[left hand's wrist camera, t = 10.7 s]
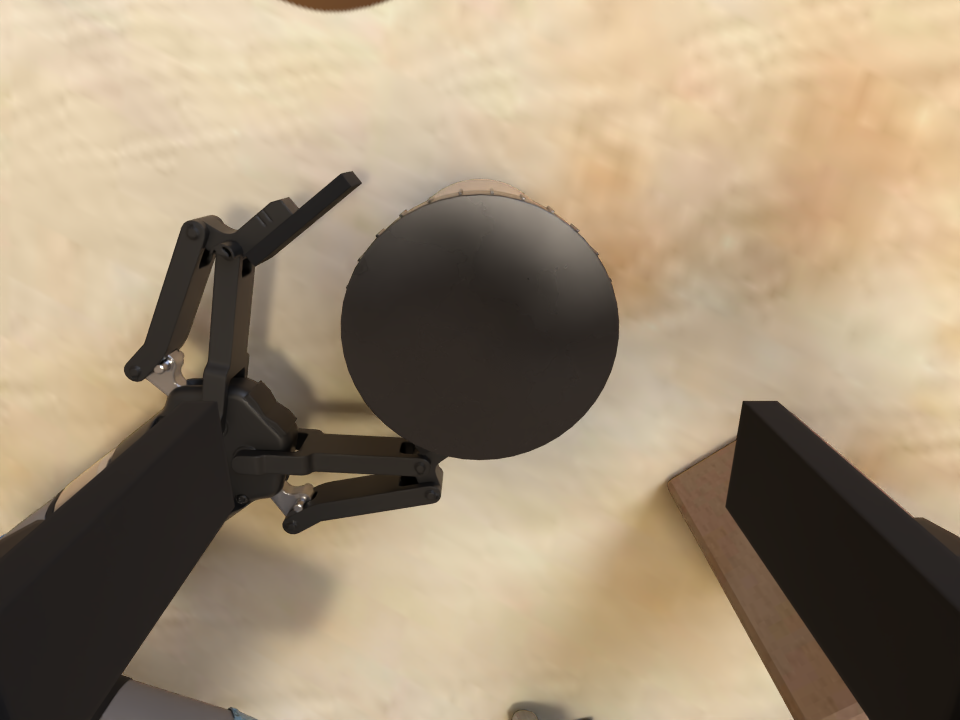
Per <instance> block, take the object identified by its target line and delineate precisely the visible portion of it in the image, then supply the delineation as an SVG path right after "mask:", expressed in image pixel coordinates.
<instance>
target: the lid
mask: <svg viewBox="0 0 960 720" xmlns="http://www.w3.org/2000/svg"><path fill="white" fill-rule="evenodd" d="M554 212H555V211H554V210H552V209H551V208H550V207H549V206H547V208H546V207H544V206H542V205H540V204H538V203H536V202H534V201H532V200H529V199H526V198H525V197H524V196H523V195H522V194H520V196H518V195H515V194H510V193H505V192H500V191H494V190H493V188H490V190H470V191H463V189H460V190H459V192H455V193H450V194H445V195H442V196H439V197H436V198H434V197H433V196H432V197H430V198H429V199H428V200H427V201H426V202H424V203H422V204H420V205H418V206H416V207H414V208H412V209H411V210H409V211H407V210H405V211H404V212H402V213H401V214H400V215H399V216H400V217H399V218H398V219H397V220H396V221H394V222H393V223H392V224H391V225H390V226H389V227H388V228H387V229H386V230H385V229H382V230H381V231H380V232H379V233H378V234H377V235H376V237H377V238H376V239H375V240H374V242H373V243H372V244H371V245H370V247H369V248H368V249H367V250H366V251H365V253H364V254H363V255H362V256H361V257H360V258H359V259H358V261H359V263H358V264H357V266H356V268H355V269H354V272H353V274H352V276H351V279H350V281H349V284H348V285H347V287H346V289H347V290H346V294H345V297H344V301H343V307H342V315H341V340H342V346H343V353H344V357H345V360H346V364H347V367H348V371H349V373H350V375H351V377H352V380H353V382H354V384H355V387H356V388H357V390H358V391H359V393H360V395H361V396H362V398H363V400H364V401H365V402H366V404H367V405H368V406H369V407H370V409H371V410H372V411H373V412H374V414H375V415H376V416H377V417H378V418H379V419H380V420H381V421H382V422H383V423H384V424H385V425H387V426H388V427H389V428H390V429H392V430H393V431H394V432H396V433H397V434H398V435H400V436H401V437H403V438H404V439H406V440H408V441H410V442H411V443H413V444H415V445H417V446H419V447H422V448H424V449H426V450H429V451H431V452H434V453H438V454H441V455H444V456H449V457H454V458H460V459H470V460H490V459H500V458H506V457H512V456H516V455H519V454H522V453H526V452H529V451H531V450H534V449H536V448H538V447H541V446H543V445H545V444H547V443H549V442H550V441H552V440H554V439H556V438H557V437H559V436H560V435H562V434H563V433H564V432H566V431H567V430H568V429H570V428H571V427H572V426H573V425H574V424H575V423H577V422H578V421H579V420H580V419H581V418H582V417H583V416H584V415H585V414H586V412H587V411H588V410H589V409H590V407H591V406H592V405H593V404H594V402H595V401H596V400H597V398H598V396H599V395H600V393H601V391H602V390H603V388H604V386H605V384H606V382H607V380H608V377H609V375H610V373H611V370H612V367H613V364H614V360H615V357H616V352H617V346H618V339H619V316H618V308H617V301H616V298H615V294H614V290H613V286H612V284H611V282H612V281H611V279H610V278H609V277H608V274H607V272H606V269H605V268H604V266H603V264H602V263H601V261H600V259H599V258H598V255H599V254H598V253H597V252H596V251H595V250H594V249H593V248H592V247H591V246H590V245H589V244H588V243H587V242H586V240H585V239H584V238H583V237H582V236H581V235H580V234H579V233H578V232H579V230H578V229H577V228H576V227H575V226H574V225H572V224H571V225H569V224H568V223H567V222H566V221H564V220H563V219H562V218H561V217H559V216H558V215H556V214H555V213H554Z"/></svg>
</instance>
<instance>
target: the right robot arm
mask: <svg viewBox="0 0 960 720" xmlns="http://www.w3.org/2000/svg"><path fill="white" fill-rule="evenodd" d="M360 184H361V181H360V180H359V179H358V178H357V176H356V175H355V174H354V173H353V171H351V172H346V173H341V174H340V175H339V176H338V177H336V178H335V179H334V180H333V181H332V182H330V183H329V184H328V185H327V186H326V187H324V188H323V189H322V190H321V191H320V192H319V193H317V194H316V195H315V196H314V197H313V198H311V199H310V200H309V201H308V202H307V203H305V204H304V205H303V206H302V207H301V208H298V207H297V206H296V205H295V204H294V202H293V201H292V200H291V199H290V198H289V197H288V198H284V199H281V200H277V201H274V202H270V203H269V204H268V205H267V206H266V207H265V208H263V209H262V210H261V211H260V212H259V213H258V214H257V215H255V216H254V217H253V218H252V219H250V220H249V221H248V222H247V223H246V224H245V225H243V226H242V227H241V228H240V229H239V230H235V229H232V228H230V227H228V226H227V225H225V224H224V223H223V221H222V220H221V219H220V218H219V217H217V216H214V215H210V216H205V217H201V218H197V219H193V220H190V221H187V222H185V223H184V224H183V226H182V227H181V231H180V234H179V237H178V240H177V243H176V246H175V249H174V252H173V256H172V259H171V262H170V265H169V268H168V271H167V274H166V277H165V281H164V284H163V287H162V290H161V293H160V296H159V299H158V302H157V306H156V309H155V312H154V315H153V318H152V321H151V324H150V327H149V331H148V334H147V337H146V340H145V343H144V345H143V346H142V347H141V348H140V349H139V350H138V351H137V352H136V354H135V355H134V356H133V357H132V358H131V359H130V360H129V361H128V362H127V363H126V365H125V367H124V372H125V375H126V376H127V377H128V378H129V379H130V380H132V381H136V382H139V381H142V380H144V379H145V378H146V379H147V380H149V381H150V382H151V383H152V384H153V385H155V386H156V387H157V388H158V389H160V390H161V391H162V392H163V393H165V394H166V395H167V396H168V398H167V401H166V405H165V407H164V408H163V409H162V410H161V411H160V412H159V413H157V414H156V415H155V416H154V417H152V418H151V419H150V420H149V421H147V422H146V423H145V424H144V425H142V426H141V427H140V428H139V429H137V430H136V431H135V432H134V433H132V434H131V435H130V436H129V437H127V438H126V439H125V440H123V441H122V442H121V443H120V444H119V445H118V447H117V448H114V449H113V450H112V451H110V452H109V453H108V454H106V455H105V456H104V457H103V458H101V459H100V460H99V461H97V462H96V463H95V464H94V465H92V466H91V467H90V468H89V469H87V470H86V471H85V472H83V473H82V474H81V475H80V476H78V477H77V478H76V479H74V480H73V481H72V482H71V483H69V484H68V485H67V486H66V488H64V489H63V490H62V491H61V492H60V493H58V495H57V496H56V497H54V498H53V499H51V500H50V501H49V502H47V503H46V504H45V505H43V506H42V507H41V508H39V509H38V510H37V511H35V512H34V513H33V514H31V515H30V516H29V517H27V518H26V519H25V520H23V521H22V522H21V523H19V524H18V525H17V526H15V527H14V528H13V529H12V530H10V531H9V532H8V533H7V534H4V535H3V536H1V537H0V540H2V539H3V538H4V537H6V536H8V535H10V534H12V533H14V532H16V531H17V530H19V529H21V528H23V527H25V526H27V525H29V524H30V523H32V522H34V521H36V520H45V519H47V518H48V517H49V516H50V515H51V514H52V513H53V512H55V511H56V510H57V509H58V508H59V507H60V506H62V505H63V504H64V503H65V502H66V501H67V500H69V499H70V498H71V497H72V496H73V495H74V494H76V493H77V492H78V491H79V490H80V489H81V488H82V487H84V486H85V485H86V484H87V483H88V482H89V481H91V480H92V479H93V478H94V477H95V476H96V475H98V474H99V473H100V472H101V471H102V470H103V469H104V468H106V467H107V466H108V465H109V464H110V463H111V462H113V461H114V460H115V459H116V458H117V457H118V456H120V455H121V454H122V453H123V452H124V451H125V450H127V449H128V448H129V447H130V446H131V445H132V444H133V443H135V442H136V441H137V440H138V439H139V438H140V437H142V436H143V435H144V434H145V433H146V432H147V431H149V430H150V429H151V428H152V427H153V426H154V425H156V424H157V423H158V422H159V421H160V420H161V419H162V418H164V417H165V416H166V415H167V414H168V413H169V412H171V411H172V410H173V409H174V408H175V407H176V406H178V405H179V404H180V403H181V402H182V401H217V404H218V410H219V415H220V421H221V427H222V433H223V439H224V445H225V451H226V457H227V463H228V469H229V475H230V481H231V487H232V493H233V499H234V505H235V507H234V509H233V510H232V512H231V513H230V515H229V516H228V518H227V519H226V520H228V519H229V518H231V517H232V516H233V515H235V514H236V513H238V512H239V511H240V510H242V509H243V508H245V507H246V506H247V505H249V504H250V503H251V502H253V501H255V500H258V499H263V498H271V499H272V500H273V501H274V503H275V504H276V505H277V506H278V507H279V509H280V510H281V511H282V512H283V514H284V515H285V516H286V517H285V519H284V521H283V529H284V530H285V531H286V532H287V533H290V534H297V533H300V532H301V531H303V530H305V529H307V528H309V527H311V526H313V525H315V524H317V523H319V522H320V521H326V520H332V519H338V518H345V517H351V516H357V515H364V514H370V513H376V512H383V511H389V510H395V509H401V508H408V507H414V506H420V505H427V504H433V503H436V502H437V501H439V499H440V497H441V490H442V481H443V471H442V469H441V468H440V467H439V465H438V463H440V462H441V461H442V460H444V459H445V458H447V457H448V456H444V455H441V454H438V453H434V452H431V451H429V450H426V449H424V448H422V447H419V446H417V445H415V444H413V443H411V442H410V441H408V440H406V439H404V438H396V437H377V436H357V435H338V434H324V433H323V432H322V431H320V430H315V429H298V428H297V425H296V423H295V421H296V420H297V418H296V417H295V416H294V415H293V414H292V413H291V411H290V410H289V409H287V408H286V407H284V406H283V405H281V404H280V403H278V402H277V401H276V399H275V398H274V396H273V394H272V392H271V391H270V389H269V388H268V387H267V386H266V385H265V384H264V383H263V382H262V381H260V382H258V383H257V382H256V381H254V380H252V379H249V378H247V375H248V365H249V354H248V353H247V345H248V335H249V324H250V314H251V304H252V293H253V283H254V272H255V266H257V265H259V264H261V263H263V262H264V261H266V260H268V259H270V258H272V257H273V256H274V255H276V254H277V253H278V252H279V251H280V250H282V249H283V248H284V247H285V246H286V245H288V244H289V243H290V242H291V241H293V240H294V239H295V238H296V237H297V236H299V235H300V234H301V233H302V232H303V231H305V230H306V229H307V228H308V227H309V226H311V225H312V224H313V223H314V222H316V221H317V220H318V219H319V218H320V217H322V216H323V215H324V214H325V213H326V212H328V211H329V210H330V209H331V208H332V207H334V206H335V205H336V204H337V203H338V202H340V201H341V200H342V199H343V198H345V197H346V196H347V195H348V194H349V193H351V192H352V191H353V190H354V189H355V188H357V187H358V186H359V185H360ZM215 257H216V259H215ZM214 260H215V273H214V286H213V300H212V314H211V328H210V341H209V355H208V363H207V365H206V367H205V370H204V374H203V378H192V379H188V380H186V379H185V378H184V377H183V375H182V373H181V368H182V366H183V363H184V359H183V358H184V353H183V352H182V351H180V350H179V349H180V348H181V347H182V346H183V344H184V343H185V341H186V339H187V337H188V335H189V332H190V329H191V326H192V324H193V321H194V318H195V315H196V312H197V309H198V306H199V303H200V300H201V298H202V295H203V292H204V289H205V286H206V283H207V280H208V277H209V274H210V271H211V269H212V266H213V263H214ZM295 450H299V451H297V452H295ZM312 472H336V473H356V474H375V475H369V476H363V477H357V478H351V479H344V480H338V481H332V482H328V483H324V484H321V485H318V486H316V487H314V488H313V485H312V484H310V483H307V484H305V485H302V486H292V485H290V484H289V483H288V482H287V480H288V478H289V475H308V474H310V473H312ZM226 520H225V521H226ZM91 720H257V719H255V718H253V717H251V716H248V715H246V714H244V713H241V712H240V711H239V710H237V709H236V708H233V707H230V708H228V709H224V708H221V707H218V706H215V705H211V704H208V703H205V702H202V701H198V700H195V699H192V698H189V697H186V696H182V695H179V694H176V693H173V692H170V691H166V690H163V689H160V688H157V687H153V686H150V685H147V684H144V683H141V682H137V681H134V680H133V679H132V678H129V677H126V676H123V675H121V676H120V677H119V679H118V680H117V681H116V683H115V684H114V686H113V687H112V689H111V690H110V692H109V693H108V695H107V696H106V698H105V699H104V701H103V702H102V704H101V705H100V707H99V708H98V710H97V711H96V712H95V714H94V715H93V717H92V718H91Z"/></svg>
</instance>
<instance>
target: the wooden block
mask: <svg viewBox="0 0 960 720" xmlns="http://www.w3.org/2000/svg"><path fill="white" fill-rule="evenodd" d="M792 414H793V413H792ZM793 415H794V414H793ZM794 416H795V415H794ZM795 417H796V416H795ZM796 418H798V417H796ZM798 419H799V418H798ZM799 420H800V419H799ZM800 421H801V420H800ZM801 422H802V421H801ZM802 423H803V422H802ZM803 424H804V425H806V424H805V423H803ZM806 426H807V425H806ZM807 427H808V426H807ZM808 428H809V427H808ZM809 429H810V428H809ZM810 430H811V431H813V430H812V429H810ZM813 432H814V431H813ZM814 433H815V432H814ZM815 434H816V433H815ZM816 435H817V434H816ZM817 436H818V437H820V436H819V435H817ZM820 438H821V437H820ZM821 439H822V438H821ZM822 440H823V439H822ZM823 441H824V440H823ZM824 442H825V443H827V442H826V441H824ZM827 444H828V443H827ZM735 445H736V441H734V442H732V443H731V444H729V445H727V446H726V447H724V448H722V449H721V450H719V451H717V452H716V453H714V454H712V455H711V456H709V457H707V458H706V459H704V460H703V461H701V462H699V463H698V464H696V465H694V466H693V467H691V468H689V469H688V470H686V471H684V472H683V473H681V474H679V475H678V476H676V477H674V478H673V479H671V480H670V481H669V482H668V490H669V491H670V493H671V495H672V497H673V499H674V501H675V502H676V504H677V506H678V508H679V510H680V512H681V513H682V515H683V517H684V519H685V521H686V523H687V524H688V526H689V528H690V530H691V532H692V534H693V535H694V537H695V539H696V541H697V543H698V545H699V546H700V548H701V550H702V552H703V554H704V556H705V557H706V559H707V561H708V563H709V565H710V567H711V568H712V570H713V572H714V574H715V576H716V577H717V579H718V581H719V583H720V585H721V587H722V588H723V590H724V592H725V594H726V596H727V598H728V599H729V601H730V603H731V605H732V607H733V609H734V610H735V612H736V614H737V616H738V618H739V620H740V621H741V623H742V625H743V627H744V629H745V631H746V632H747V634H748V636H749V638H750V640H751V642H752V643H753V645H754V647H755V649H756V651H757V653H758V654H759V656H760V658H761V660H762V662H763V663H764V665H765V667H766V669H767V671H768V673H769V674H770V676H771V678H772V680H773V682H774V684H775V685H776V687H777V689H778V691H779V693H780V695H781V696H782V698H783V700H784V702H785V704H786V706H787V707H788V709H789V711H790V713H791V715H792V717H793V718H794V720H869V718H868V717H867V715H866V714H865V712H864V711H863V710H862V708H861V707H860V705H859V704H858V702H857V701H856V699H855V698H854V696H853V695H852V693H851V692H850V690H849V689H848V687H847V686H846V684H845V683H844V681H843V680H842V679H841V677H840V676H839V674H838V673H837V671H836V670H835V668H834V667H833V665H832V664H831V662H830V661H829V659H828V658H827V656H826V655H825V653H824V652H823V650H822V649H821V647H820V646H819V645H818V643H817V642H816V640H815V639H814V637H813V636H812V634H811V633H810V631H809V630H808V628H807V627H806V625H805V624H804V622H803V621H802V619H801V618H800V616H799V615H798V614H797V612H796V611H795V609H794V608H793V606H792V605H791V603H790V602H789V600H788V599H787V597H786V596H785V594H784V593H783V591H782V590H781V588H780V587H779V585H778V584H777V583H776V581H775V580H774V578H773V577H772V575H771V574H770V572H769V571H768V569H767V568H766V566H765V565H764V563H763V562H762V560H761V559H760V557H759V556H758V554H757V553H756V552H755V550H754V549H753V547H752V546H751V544H750V543H749V541H748V540H747V538H746V537H745V535H744V534H743V532H742V531H741V529H740V528H739V526H738V525H737V523H736V522H735V521H734V519H733V518H732V516H731V515H730V513H729V512H728V510H727V509H726V507H725V505H726V499H727V493H728V487H729V481H730V475H731V469H732V463H733V457H734V451H735ZM828 445H829V444H828ZM829 446H830V445H829ZM830 447H831V446H830ZM831 448H832V449H833V450H835V449H834V448H833V447H831ZM835 451H836V450H835ZM836 452H837V451H836ZM837 453H838V452H837ZM838 454H839V455H840V456H842V455H841V454H840V453H838ZM842 457H843V456H842ZM843 458H844V457H843ZM844 459H845V458H844ZM845 460H846V459H845ZM846 461H847V462H849V461H848V460H846ZM849 463H850V462H849ZM850 464H851V463H850ZM851 465H852V464H851ZM852 466H853V465H852ZM853 467H854V468H856V467H855V466H853ZM856 469H857V468H856ZM857 470H858V469H857ZM858 471H859V470H858ZM859 472H860V471H859ZM860 473H861V474H862V475H864V474H863V473H862V472H860ZM864 476H865V475H864ZM865 477H866V476H865ZM866 478H867V477H866ZM867 479H868V480H869V481H871V480H870V479H869V478H867ZM871 482H872V481H871ZM872 483H873V482H872ZM873 484H874V483H873ZM874 485H875V486H876V487H878V486H877V485H876V484H874ZM878 488H879V487H878ZM879 489H880V488H879ZM880 490H881V489H880ZM881 491H882V492H883V493H884V494H886V493H885V492H884V491H883V490H881ZM886 495H887V494H886ZM887 496H888V495H887ZM888 497H889V498H890V499H891V500H893V499H892V498H891V497H890V496H888ZM893 501H894V500H893ZM894 502H895V501H894ZM895 503H896V504H897V505H898V506H900V505H899V504H898V503H897V502H895ZM900 507H901V506H900ZM901 508H902V507H901ZM902 509H903V510H904V511H905V512H907V511H906V510H905V509H904V508H902ZM907 513H908V512H907ZM908 514H909V513H908ZM909 515H910V516H911V517H912V518H914V517H913V516H912V515H911V514H909Z"/></svg>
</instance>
